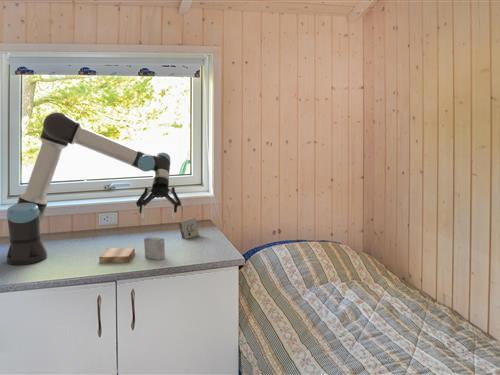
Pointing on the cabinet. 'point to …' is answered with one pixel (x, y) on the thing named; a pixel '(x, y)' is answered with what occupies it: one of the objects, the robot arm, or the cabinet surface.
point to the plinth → (116, 255)
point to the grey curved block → (154, 247)
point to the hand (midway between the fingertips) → (157, 218)
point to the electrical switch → (189, 228)
